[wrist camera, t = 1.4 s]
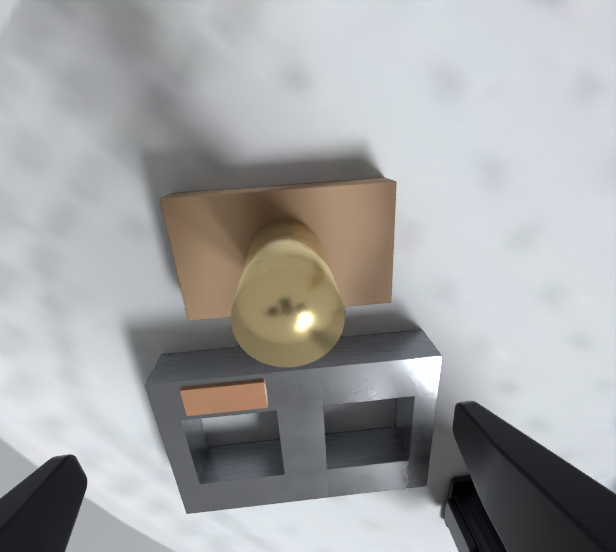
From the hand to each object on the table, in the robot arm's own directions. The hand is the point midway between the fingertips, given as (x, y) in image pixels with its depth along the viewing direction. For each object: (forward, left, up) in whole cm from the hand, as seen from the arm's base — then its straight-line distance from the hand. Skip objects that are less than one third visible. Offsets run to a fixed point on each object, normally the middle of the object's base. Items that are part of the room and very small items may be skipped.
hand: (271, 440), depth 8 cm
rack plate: (-1, +12, -13) cm, 18 cm away
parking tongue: (-1, -1, -13) cm, 13 cm away
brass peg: (-1, -1, -11) cm, 11 cm away
